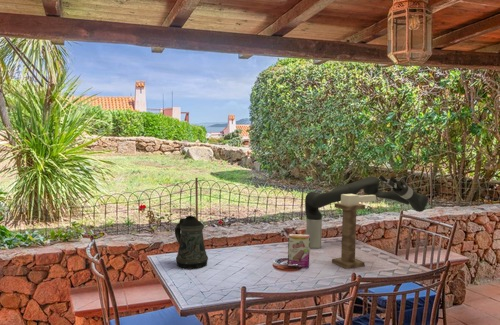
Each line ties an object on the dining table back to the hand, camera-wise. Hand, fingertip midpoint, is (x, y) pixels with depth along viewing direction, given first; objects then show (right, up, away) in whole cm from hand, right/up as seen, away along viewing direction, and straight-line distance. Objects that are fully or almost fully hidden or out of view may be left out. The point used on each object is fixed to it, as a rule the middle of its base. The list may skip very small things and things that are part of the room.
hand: (385, 177), depth 252 cm
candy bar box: (-52, -46, -21) cm, 72 cm away
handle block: (-19, -13, -16) cm, 28 cm away
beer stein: (-108, -45, -20) cm, 119 cm away
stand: (-25, -45, -17) cm, 54 cm away
